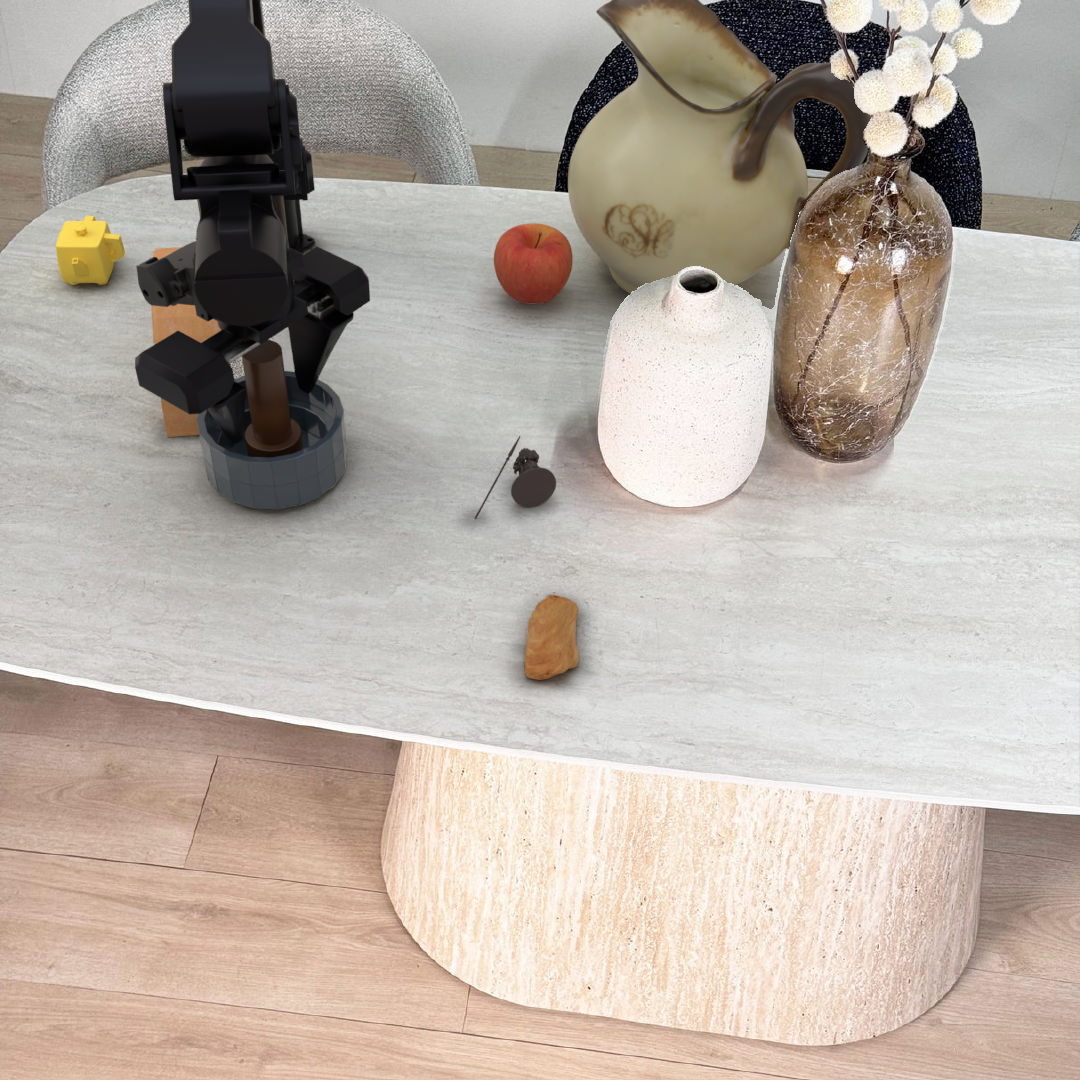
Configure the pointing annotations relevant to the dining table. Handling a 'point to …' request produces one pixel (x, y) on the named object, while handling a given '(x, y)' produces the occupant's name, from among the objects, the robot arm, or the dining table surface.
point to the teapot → (87, 251)
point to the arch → (192, 326)
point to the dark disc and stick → (528, 480)
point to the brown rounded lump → (551, 638)
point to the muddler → (269, 404)
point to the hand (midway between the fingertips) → (270, 414)
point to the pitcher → (697, 150)
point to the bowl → (281, 475)
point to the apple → (533, 262)
